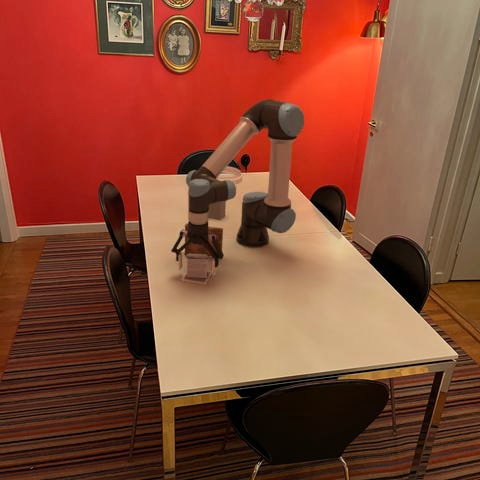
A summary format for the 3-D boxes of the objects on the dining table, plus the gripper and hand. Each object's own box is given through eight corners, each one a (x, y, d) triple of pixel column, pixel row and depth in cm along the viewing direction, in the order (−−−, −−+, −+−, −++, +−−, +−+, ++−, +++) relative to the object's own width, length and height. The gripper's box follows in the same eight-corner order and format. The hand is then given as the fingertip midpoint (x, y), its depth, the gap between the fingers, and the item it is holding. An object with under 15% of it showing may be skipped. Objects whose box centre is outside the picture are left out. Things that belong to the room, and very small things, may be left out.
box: (207, 273, 186) (207, 253, 183) (206, 278, 182) (207, 259, 179) (187, 272, 186) (187, 253, 182) (186, 277, 182) (186, 258, 178)
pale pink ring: (195, 183, 292) (195, 174, 290) (205, 171, 316) (205, 163, 314) (237, 188, 288) (238, 179, 286) (244, 175, 313) (245, 167, 310)
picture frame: (212, 273, 188) (212, 271, 188) (205, 285, 179) (206, 283, 179) (188, 269, 190) (188, 268, 189) (180, 281, 181) (180, 279, 180)
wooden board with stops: (222, 254, 204) (223, 227, 198) (219, 259, 199) (221, 231, 194) (187, 249, 206) (187, 222, 201) (183, 254, 202) (183, 226, 196)
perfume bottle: (207, 217, 241) (208, 184, 234) (213, 213, 247) (214, 180, 239) (219, 220, 239) (221, 186, 231) (225, 215, 245) (226, 182, 237)
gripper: (233, 221, 176) (230, 271, 185) (169, 213, 180) (169, 262, 188) (228, 229, 169) (226, 280, 178) (162, 220, 173) (163, 270, 182)
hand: (197, 271), depth 183 cm, fingers open, 13 cm apart
